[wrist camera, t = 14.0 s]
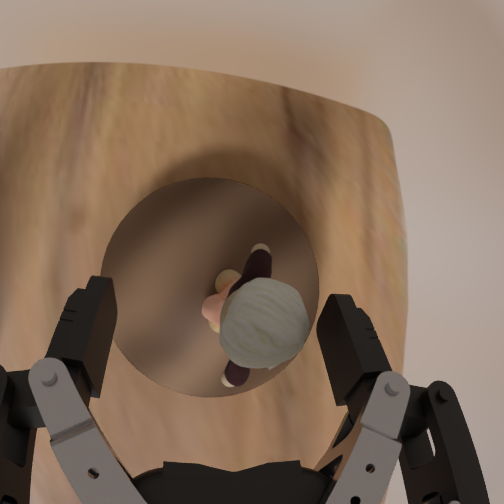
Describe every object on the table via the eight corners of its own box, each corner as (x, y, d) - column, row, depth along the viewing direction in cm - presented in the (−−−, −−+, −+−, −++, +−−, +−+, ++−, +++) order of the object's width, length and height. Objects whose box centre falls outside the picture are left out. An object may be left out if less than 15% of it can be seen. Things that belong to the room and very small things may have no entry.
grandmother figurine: (204, 254, 22) (211, 199, 10) (258, 257, 23) (328, 209, 10) (199, 363, 21) (203, 442, 8) (254, 364, 21) (319, 437, 9)
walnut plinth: (78, 275, 24) (60, 271, 20) (219, 161, 27) (223, 140, 24) (202, 418, 24) (204, 437, 20) (336, 296, 27) (357, 294, 24)
